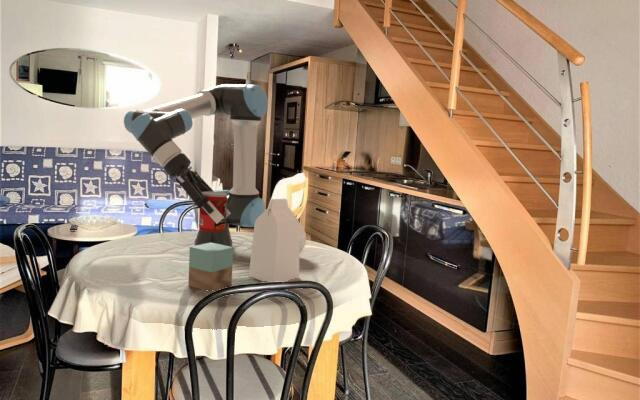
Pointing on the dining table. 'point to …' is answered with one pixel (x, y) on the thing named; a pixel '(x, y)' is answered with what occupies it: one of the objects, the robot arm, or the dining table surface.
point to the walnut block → (210, 278)
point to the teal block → (211, 257)
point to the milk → (275, 244)
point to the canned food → (221, 205)
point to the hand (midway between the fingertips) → (224, 218)
